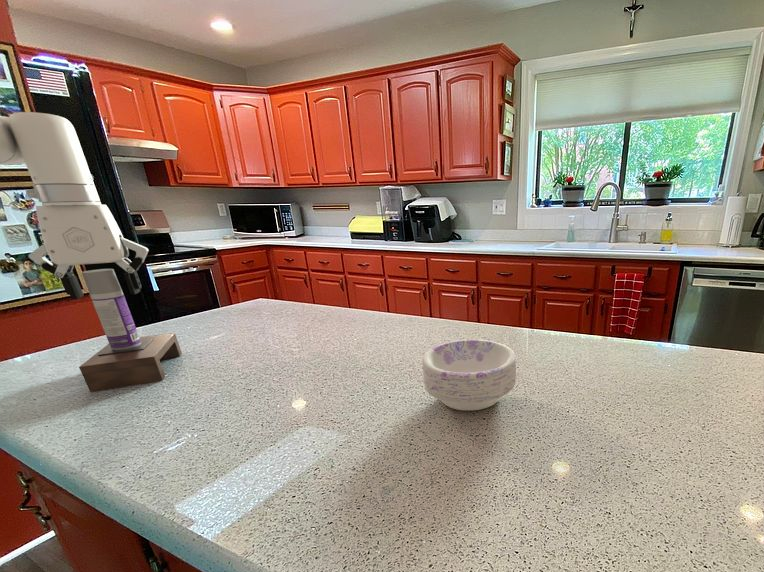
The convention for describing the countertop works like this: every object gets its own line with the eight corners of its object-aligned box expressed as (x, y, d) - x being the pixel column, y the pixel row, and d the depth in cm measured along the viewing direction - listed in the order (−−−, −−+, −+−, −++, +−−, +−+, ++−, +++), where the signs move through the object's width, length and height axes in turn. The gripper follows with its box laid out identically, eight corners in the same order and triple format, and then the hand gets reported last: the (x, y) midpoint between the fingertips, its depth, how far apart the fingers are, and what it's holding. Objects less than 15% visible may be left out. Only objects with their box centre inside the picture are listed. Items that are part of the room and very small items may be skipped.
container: (132, 341, 82) (105, 268, 76) (146, 343, 80) (120, 269, 75) (106, 348, 78) (74, 272, 72) (120, 351, 76) (90, 273, 71)
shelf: (89, 392, 72) (78, 365, 70) (121, 362, 86) (112, 339, 84) (162, 380, 76) (153, 355, 74) (182, 353, 90) (174, 331, 88)
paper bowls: (450, 431, 57) (447, 382, 54) (411, 391, 69) (407, 349, 66) (534, 404, 64) (536, 359, 61) (485, 372, 76) (484, 333, 73)
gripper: (-13, 197, 62) (36, 305, 69) (124, 195, 69) (157, 294, 75) (15, 197, 69) (57, 296, 75) (138, 196, 75) (167, 287, 82)
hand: (107, 295), depth 75 cm, fingers open, 8 cm apart
